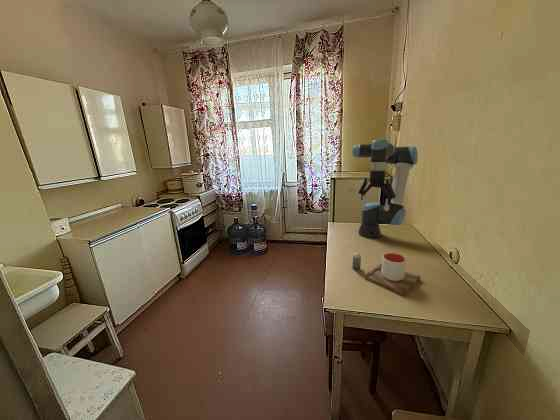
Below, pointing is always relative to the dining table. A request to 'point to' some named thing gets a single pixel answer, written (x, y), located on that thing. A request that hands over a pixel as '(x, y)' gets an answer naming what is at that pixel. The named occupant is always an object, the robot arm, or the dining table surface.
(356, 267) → the shaker
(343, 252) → the dining table surface
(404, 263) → the cup
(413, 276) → the board
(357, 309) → the dining table surface
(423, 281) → the dining table surface
